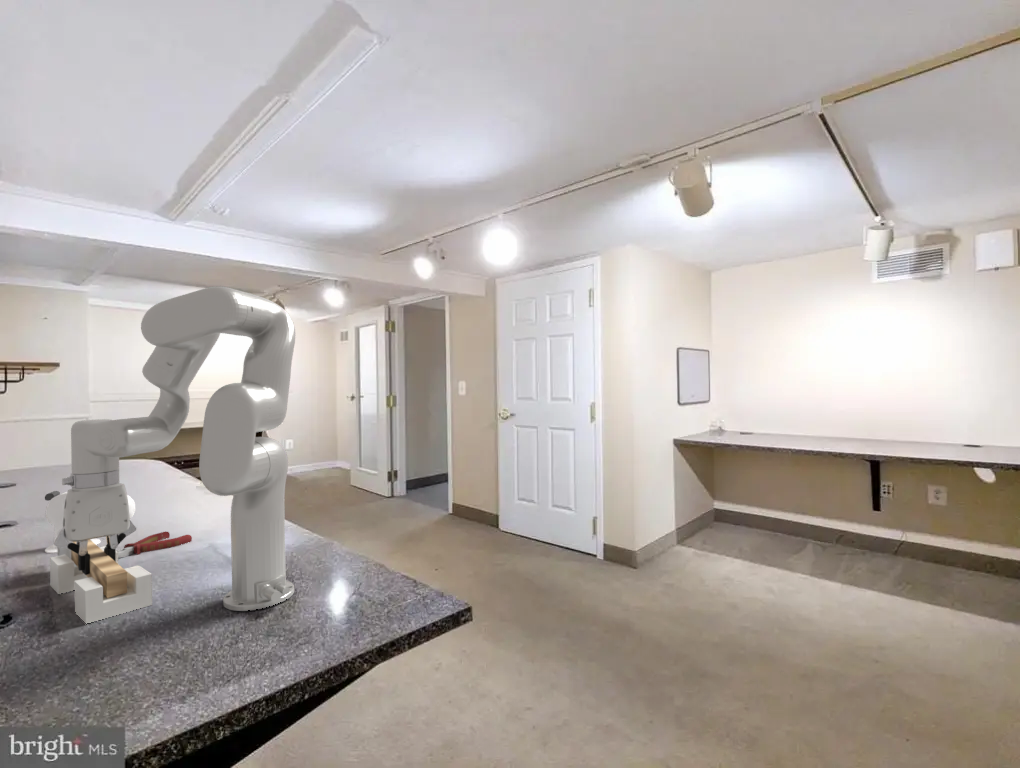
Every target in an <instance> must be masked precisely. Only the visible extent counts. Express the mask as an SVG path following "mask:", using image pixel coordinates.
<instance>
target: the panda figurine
mask: <svg viewBox="0 0 1020 768" xmlns="http://www.w3.org/2000/svg"><path fill="white" fill-rule="evenodd" d="M67 492H68V491H65V492H63V493H61V492H60V491H59V490H54V491H51V492H49V493H46V494H45V496H44V500H45V501H48V503H47V506H46V508H45V518H46V520H47V522H48V523H49V524H50V525H51V526H53V530H54V531H53V533H54V534H53V535H54V536H53V539H54V541H53V543H54V542H55V540H56V538H57V534H58V531H59V529H60V527H61V526H62V525H63V516H64V506H65V500H66V495H67ZM90 540H91V541H92V542H93V543H95V544H96V545H97V544H98V545H99V544H101V542H102V541H101V539H100V538H94V539H90ZM98 545H97V546H98ZM44 552H45V553H46V554H57V546H55V545H54V544H53V545H50V546H48V547H46V548H45V549H44Z"/></svg>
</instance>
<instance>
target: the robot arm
mask: <svg viewBox="0 0 1020 768" xmlns="http://www.w3.org/2000/svg"><path fill="white" fill-rule="evenodd" d="M295 328H296V327H295V325H294V322H293V319H292V318H291V316H290V314H289V313H288V312H287V311H286V309H284V308H283V307H282V306H281V305H279V304H277V303H276V302H274V301H272V300H270V299H268V298H265V297H263V296H261V295H257V294H253V293H250V292H246V291H242V290H240V289H236V288H231V287H228V286H227V287H226V286H221V285H220V286H211V287H206V288H201V289H199V290H195V291H192V292H188V293H185V294H182V295H177V296H174V297H171V298H168V299H165V300H163V301H160V302H158V303H156V304H154V305H152V306H151V307H150V308H149V309H148V310H147V311H146V312H145V314H144V315H143V317H142V319H141V323H140V331H141V333H142V336H143V338H144V339H145V341H147V342H148V343H149V344H150V345H153V346H155V348H154V350H152V353H151V354H150V355H149V357H148V359H147V361H146V362H145V363H144V365H143V367H142V371H141V372H142V375H143V377H144V378H145V379H146V380H147V382H149V383H151V385H153V386H155V387H157V388H158V389H159V397H158V400H157V402H156V404H155V406H154V408H153V409H152V411H151V412H150V414H148V416H141V417H139V416H138V417H130V418H129V417H128V418H121V419H107V418H106V419H105V418H104V419H85V420H78V421H76V422H74V423H73V424H72V426H71V427H70V440H71V441H70V445H71V446H70V449H71V451H70V454H71V473H70V475H69V476H68V477H65V478H62V479H61V484H62V486H70V487H71V488H69V489H67V491H66V492H67V495H66V500H65V506H64V516H63V528H62V530H61V532H60V533H59V535H58V537H57V538H56V540H55V542H54V541H53V545H55V546H57V547H61V548H67V549H70V550H72V551H74V552H75V553H77V554H78V569H79V571H82V572H83V573H84V574H85V575H88V574H89V573H90V554H88V551H87V544H88V540H89V539H100V538H105V539H106V545H105V546H106V547H105V548H104V553H106V554H107V555H108V556H110V557H111V558H112V559H113V560H114V561H115V562H116V550H117V548H118V547H119V544H120V543H122V542H123V541H124V539H126V538H127V537H128V536H130V535H132V534H133V533H134V532H136V531H137V527H136V526H135V525H134V523H133V521H131V519H130V515H129V505H128V498H127V495H128V493H127V488H126V485H125V483H120V458H124V457H130V456H136V455H141V454H147V453H154V452H157V451H161V450H163V449H164V448H166V447H168V446H169V445H170V444H171V443H172V442H173V441H174V439H175V438H176V437H177V435H178V434H179V432H180V431H181V429H182V427H183V426H184V424H185V423H186V420H187V418H188V415H189V412H190V402H191V401H190V398H191V397H190V393H189V387H190V385H191V384H192V382H193V380H194V378H195V377H196V375H197V373H198V372H199V370H200V369H201V367H202V366H203V364H204V363H205V361H206V359H207V358H208V356H209V355H210V352H211V351H212V349H213V348H214V347H215V345H216V343H217V341H218V340H219V338H220V335H221V334H225V335H226V334H227V335H234V336H241V337H248V338H250V339H251V340H252V342H251V344H250V346H249V347H248V349H247V351H246V354H245V356H244V360H243V365H242V366H243V367H242V368H243V369H242V375H241V382H233V383H228V384H225V385H223V386H221V387H219V388H218V389H216V390H215V392H214V393H213V394H212V395H211V396H210V398H209V400H208V402H207V404H206V408H205V411H204V416H203V417H204V418H203V423H202V424H203V425H202V435H201V441H200V442H201V443H200V452H199V454H200V455H199V467H198V469H199V470H198V471H199V477H200V480H201V482H202V484H203V486H204V487H205V488H206V489H207V490H208V491H209V492H210V493H212V494H213V495H217V496H220V497H229V496H233V497H232V500H231V506H230V551H231V554H230V555H231V556H230V557H231V560H230V561H231V590H229V591H228V592H227V593H226V594H225V595H224V596H223V597H222V598H223V599H222V601H223V602H222V604H223V607H224V608H225V609H228V610H229V611H235V612H249V611H248V610H250V611H256V609H258V610H263V609H267V608H270V607H273V605H274V606H275V604H276V605H279V604H281V603H283V602H285V601H287V600H289V599H290V598H291V597H292V596H293V594H294V593H295V585H294V583H292V582H291V581H289V580H287V579H286V578H287V575H286V574H287V573H286V572H287V571H286V570H287V566H286V530H285V529H286V526H285V522H286V521H285V519H286V518H285V516H286V515H285V509H286V508H285V500H286V499H285V496H286V495H285V494H286V482H287V476H288V470H289V457H288V453H287V451H286V449H285V447H284V446H283V445H282V443H280V442H279V441H278V440H276V439H273V438H272V437H268V436H256V435H257V433H259V432H260V433H261V432H266V431H269V430H270V431H271V430H273V429H276V428H278V427H279V426H281V425H282V423H283V422H285V421H284V420H285V418H286V415H287V410H288V401H289V393H290V386H291V374H292V373H291V372H292V363H293V362H292V361H293V356H294V348H295V344H296V329H295ZM66 538H67V539H68V540H69V541H73V542H76V544H75V543H73V542H69V541H66ZM286 599H287V600H286ZM280 602H281V603H280ZM278 603H279V604H278ZM269 606H270V607H269ZM266 607H267V608H266ZM262 608H263V609H262Z"/></svg>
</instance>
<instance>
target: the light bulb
mask: <svg viewBox="0 0 1020 768" xmlns="http://www.w3.org/2000/svg"><path fill="white" fill-rule="evenodd" d="M127 498H128V505H129V515H130V520H131V519H132V518H133V516H134V514H135V512H136V502H135V500H134V498H132V496H130V495H128V494H127Z"/></svg>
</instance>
